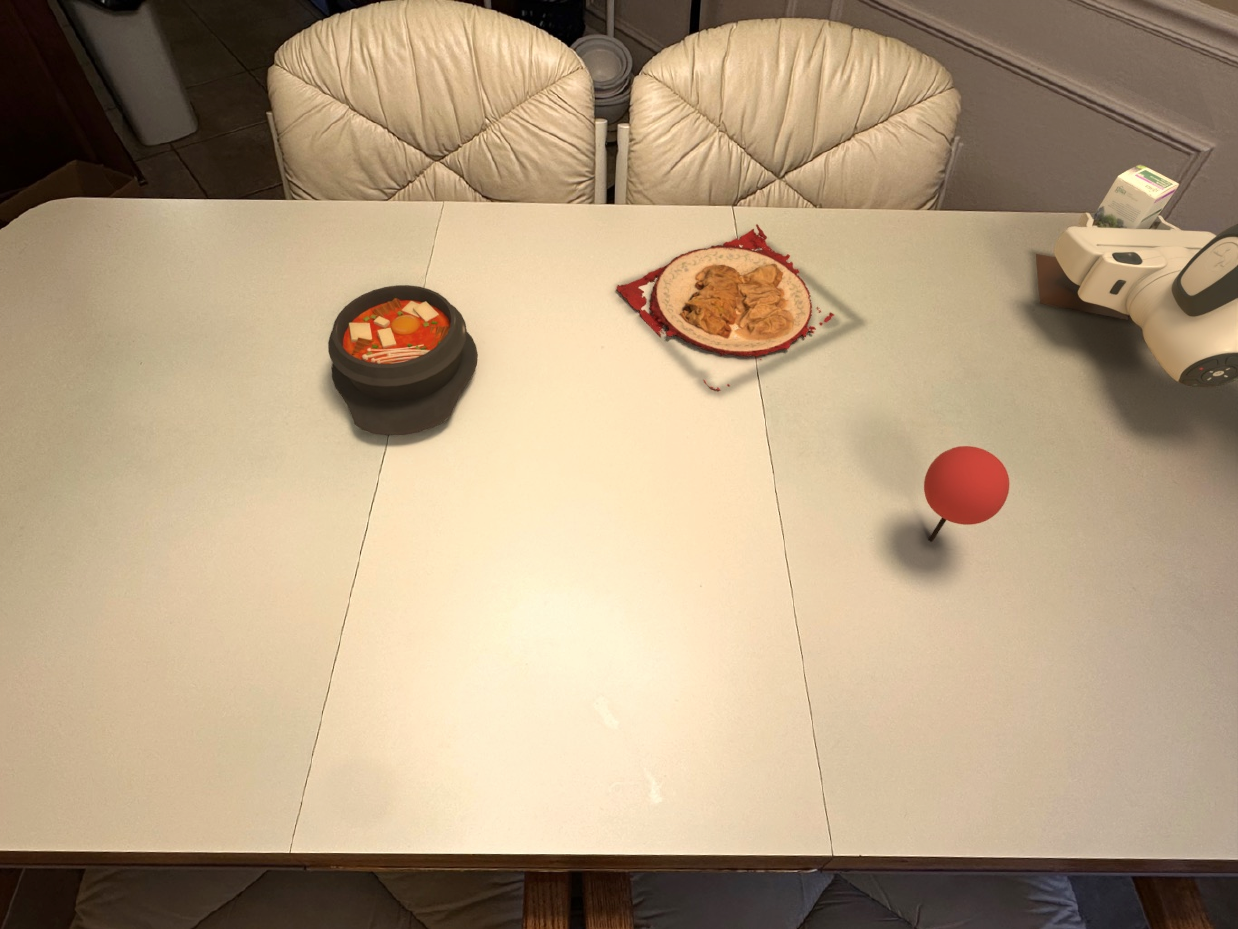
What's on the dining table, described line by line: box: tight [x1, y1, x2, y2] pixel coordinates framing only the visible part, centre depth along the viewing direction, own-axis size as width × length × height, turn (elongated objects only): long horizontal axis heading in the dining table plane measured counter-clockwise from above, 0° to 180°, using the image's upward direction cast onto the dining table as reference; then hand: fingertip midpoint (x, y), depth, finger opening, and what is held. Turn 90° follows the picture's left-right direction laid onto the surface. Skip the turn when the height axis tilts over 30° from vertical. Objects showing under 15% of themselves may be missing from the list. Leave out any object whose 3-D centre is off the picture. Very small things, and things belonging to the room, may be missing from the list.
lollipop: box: [923, 445, 1010, 543], centre depth 77 cm, size 8×8×15 cm
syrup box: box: [1095, 164, 1180, 229], centre depth 102 cm, size 6×6×14 cm
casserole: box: [327, 284, 479, 436], centre depth 94 cm, size 25×19×8 cm
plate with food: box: [616, 223, 835, 391], centre depth 105 cm, size 24×26×4 cm
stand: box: [1035, 253, 1129, 321], centre depth 110 cm, size 12×12×1 cm
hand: (1118, 218), depth 102 cm, fingers closed on syrup box, 7 cm apart
